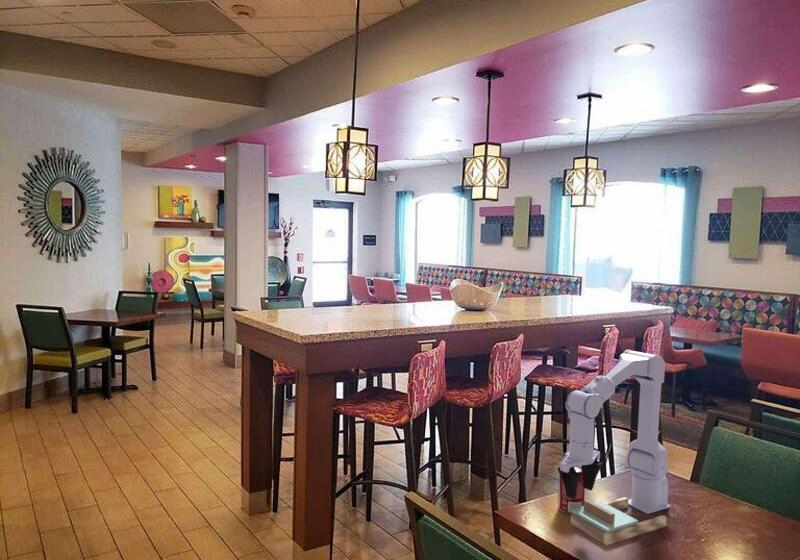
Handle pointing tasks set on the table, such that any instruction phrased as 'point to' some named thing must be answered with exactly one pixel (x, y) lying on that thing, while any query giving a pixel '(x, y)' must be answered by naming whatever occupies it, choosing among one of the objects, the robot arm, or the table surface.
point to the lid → (604, 516)
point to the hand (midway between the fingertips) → (579, 493)
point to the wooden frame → (621, 533)
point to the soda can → (567, 502)
